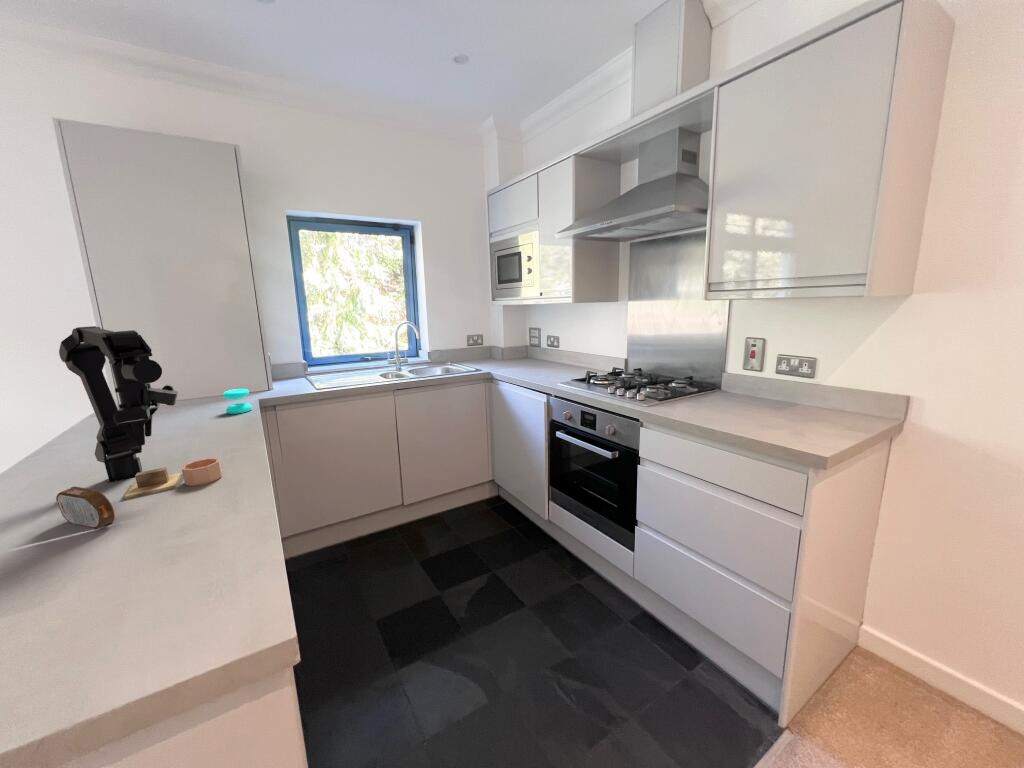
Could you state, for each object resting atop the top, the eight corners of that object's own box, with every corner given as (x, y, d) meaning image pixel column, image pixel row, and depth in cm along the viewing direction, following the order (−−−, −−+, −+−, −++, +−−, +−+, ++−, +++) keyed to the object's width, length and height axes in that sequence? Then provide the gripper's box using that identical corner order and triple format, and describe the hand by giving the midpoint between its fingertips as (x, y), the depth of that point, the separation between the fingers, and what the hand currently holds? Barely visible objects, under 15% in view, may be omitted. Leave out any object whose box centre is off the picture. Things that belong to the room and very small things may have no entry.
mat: (119, 503, 104) (118, 502, 103) (130, 486, 114) (130, 485, 114) (180, 489, 110) (179, 488, 109) (186, 474, 120) (185, 473, 120)
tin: (119, 525, 93) (110, 489, 91) (102, 533, 90) (91, 496, 88) (78, 517, 98) (68, 483, 96) (60, 524, 95) (49, 489, 93)
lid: (125, 499, 105) (120, 483, 104) (134, 485, 113) (130, 470, 112) (175, 488, 110) (171, 472, 109) (180, 475, 118) (177, 461, 117)
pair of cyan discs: (237, 392, 185) (216, 393, 186) (241, 414, 187) (221, 415, 188) (253, 387, 194) (234, 388, 196) (257, 408, 196) (238, 409, 198)
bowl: (184, 490, 109) (180, 472, 108) (188, 480, 116) (184, 463, 115) (221, 482, 113) (217, 464, 112) (223, 472, 120) (219, 455, 119)
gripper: (166, 381, 103) (180, 442, 106) (175, 372, 118) (187, 426, 121) (104, 388, 97) (121, 453, 100) (123, 378, 112) (137, 434, 116)
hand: (145, 440), depth 109 cm, fingers open, 9 cm apart
